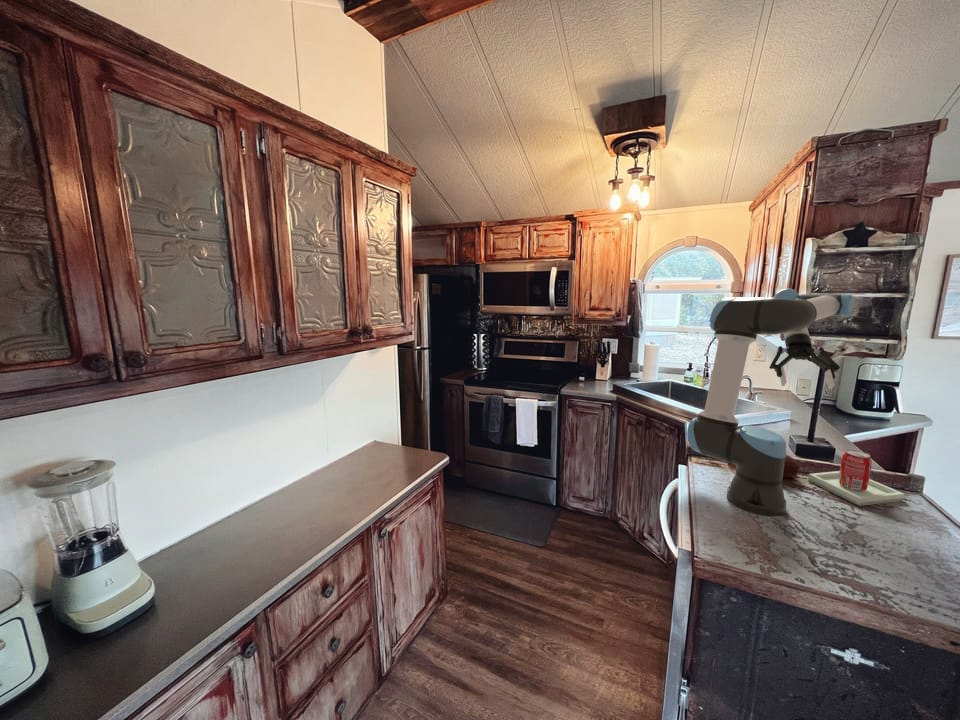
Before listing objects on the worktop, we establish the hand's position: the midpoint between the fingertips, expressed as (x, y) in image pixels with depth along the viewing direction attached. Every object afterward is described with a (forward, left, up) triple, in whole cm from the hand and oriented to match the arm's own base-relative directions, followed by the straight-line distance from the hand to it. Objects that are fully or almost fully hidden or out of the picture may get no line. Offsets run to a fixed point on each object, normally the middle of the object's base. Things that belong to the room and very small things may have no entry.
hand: (807, 385), depth 136 cm
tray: (+3, -17, -32) cm, 36 cm away
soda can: (+3, -17, -31) cm, 35 cm away
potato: (-12, -4, -32) cm, 34 cm away
